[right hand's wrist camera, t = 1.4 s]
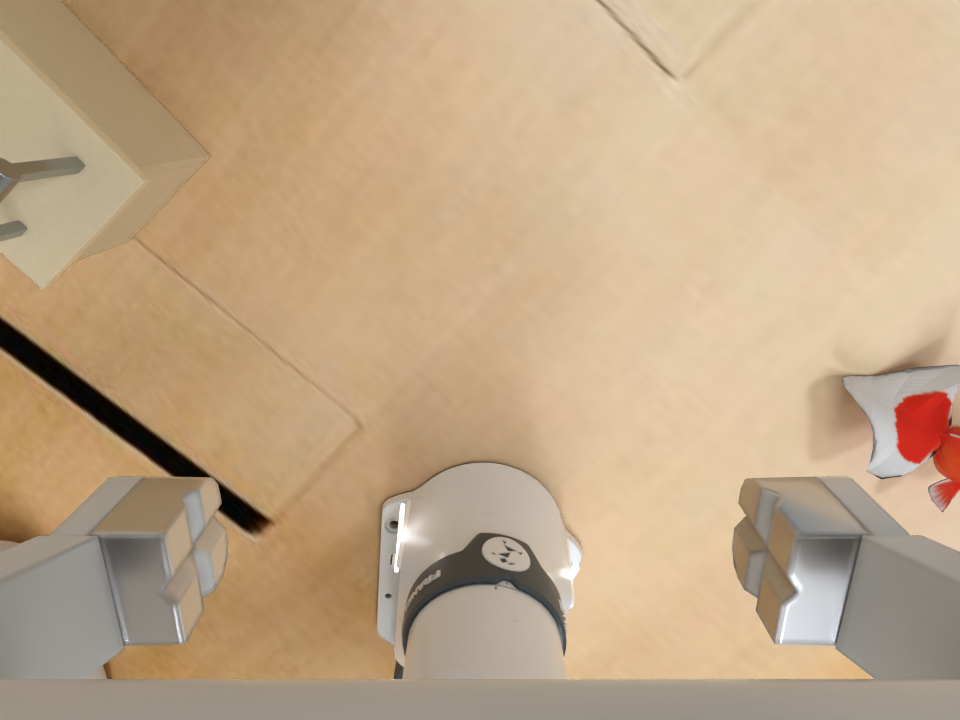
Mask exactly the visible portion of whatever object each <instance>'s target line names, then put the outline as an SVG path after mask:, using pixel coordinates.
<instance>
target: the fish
mask: <svg viewBox="0 0 960 720" xmlns="http://www.w3.org/2000/svg"><path fill="white" fill-rule="evenodd" d="M842 380H843V386H844V387H845V389H846V390H847V391H848V392H849V394H850V395H851V396H852V397H853V398H854V399H855V401H856V402H857V403H858V405H859V406H860V407H861V409H862V410H863V411H864V413H865V414H866V415H867V417H868V418H869V419H870V422H871V426H872V430H873V452H872V456H871V460H870V464H869V466H868V468H867V472H869V473H871V474H872V475H874V476H876V477H878V478H880V479H886V478H892V477H899V476H903V475H905V474H907V473H909V472H911V471H913V470H914V469H916V468H917V467H918V466H920V465H921V464H923V463H924V462H925V461H927V460H928V459H929V458H930V457H932V456H933V460H934V464H935V467H936V468H937V470H938V471H939V472H940V473H941V474H942V475H943V476H945V477H946V478H947V479H944V480H941V481H939V482H937V483H935V484H933V485H931V486H929V488H928V491H929V494H930V497H931V499H932V501H933V502H934V503H935V504H936V506H937V507H938V508H939V509H940V510H941V511H942V512H943V511H944V510H945V509H946V508H947V506H948V505H949V504H950V502H951V500H952V499H953V498H954V497H955V495H956V494H957V492H958V491H959V490H960V427H955V428H951V429H949V427H950V426H951V422H952V404H953V401H954V399H955V396H956V393H957V389H958V386H959V385H960V365H945V366H931V367H918V368H913V369H907V370H902V371H897V372H892V373H886V374H881V375H875V376H863V375H859V376H845V377H842Z"/></svg>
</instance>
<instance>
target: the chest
mask: <svg viewBox="0 0 960 720" xmlns="http://www.w3.org/2000/svg"><path fill="white" fill-rule="evenodd" d="M0 31H1V32H2V33H3V34H4V35H6V36H7V37H8V38H9V39H10V40H11V41H12V42H13V43H14V44H15V45H16V46H17V47H18V48H19V49H20V50H21V51H22V52H23V53H24V54H25V55H26V56H27V57H28V58H29V59H30V60H31V61H32V62H33V63H34V64H35V65H36V66H37V67H38V68H39V69H40V70H41V71H42V72H43V73H44V74H45V75H46V76H47V77H48V78H49V79H50V80H51V81H52V82H53V83H54V84H55V85H56V86H57V87H58V88H59V89H60V90H61V91H62V92H63V93H64V94H65V95H66V96H67V97H68V98H69V99H70V100H71V101H72V102H73V103H74V104H75V105H76V106H77V107H78V108H79V109H80V110H81V111H82V112H83V113H84V114H85V115H86V116H87V117H88V118H89V119H90V120H91V121H92V122H93V123H94V124H95V125H96V126H97V127H98V128H99V129H100V130H101V131H102V132H103V133H104V134H105V135H106V136H107V137H108V138H109V139H110V140H111V141H112V142H113V143H114V144H115V145H116V146H117V147H118V148H119V149H120V150H121V151H123V152H124V153H125V154H126V155H127V156H128V157H129V158H130V159H131V160H132V161H133V162H134V163H135V164H136V165H137V166H138V167H139V168H140V169H141V170H142V171H143V172H144V173H145V174H146V175H147V176H148V177H149V178H150V179H151V181H150V182H149V183H148V184H147V185H146V186H145V187H144V188H143V189H142V191H141V192H140V193H139V194H138V195H137V196H136V197H135V198H134V199H133V200H132V201H131V202H130V203H129V204H128V205H127V206H126V207H125V208H124V209H123V210H122V212H121V213H120V214H119V215H118V216H117V217H116V218H115V219H114V220H113V221H112V222H111V223H110V224H109V225H108V226H107V227H106V228H105V229H104V230H103V232H102V233H101V234H100V235H99V236H98V237H97V238H96V239H95V240H94V241H93V242H92V243H91V244H90V245H89V246H88V247H87V248H86V249H85V250H84V252H83V253H82V254H81V255H80V256H79V257H78V258H77V259H76V260H75V261H77V260H80V259H83V258H85V257H88V256H91V255H93V254H96V253H99V252H101V251H104V250H107V249H110V248H112V247H115V246H118V245H120V244H124V243H126V242H128V241H129V240H130V239H131V238H132V237H133V236H134V235H135V234H136V233H137V232H138V231H139V230H140V229H141V228H142V227H143V226H144V225H145V224H146V223H147V222H148V221H149V220H150V219H151V218H152V217H153V216H154V215H155V214H156V212H157V211H158V210H159V209H160V208H161V207H162V206H163V205H164V204H165V203H166V202H167V201H168V200H169V199H170V198H171V197H172V196H173V195H174V194H175V193H176V192H177V191H178V190H179V189H180V188H181V187H182V186H183V185H184V184H185V183H186V182H187V181H188V179H189V178H190V177H191V176H192V175H193V174H194V173H195V172H196V171H197V170H198V169H199V168H200V167H201V166H202V165H203V164H204V163H205V162H206V161H207V160H208V159H209V158H210V157H211V155H210V154H209V153H208V152H207V151H206V150H205V149H204V148H203V147H202V146H201V145H200V144H199V143H198V142H197V141H196V140H195V139H194V138H193V137H192V136H191V135H190V134H189V133H188V132H187V131H186V130H185V129H184V128H183V126H182V125H181V124H180V123H179V122H178V121H177V120H176V119H175V118H174V117H173V116H172V115H171V114H170V113H169V112H168V111H167V110H166V109H165V108H164V107H163V106H162V105H161V104H160V103H159V102H158V101H157V100H156V99H155V98H154V96H153V95H152V94H151V93H150V92H149V91H148V90H147V89H146V88H145V87H144V86H143V85H142V84H141V83H140V82H139V81H138V80H137V79H136V78H135V77H134V76H133V75H132V74H131V73H130V72H129V71H128V70H127V69H126V67H125V66H124V65H123V64H122V63H121V62H120V61H119V60H118V59H117V58H116V57H115V56H114V55H113V54H112V53H111V52H110V51H109V50H108V49H107V48H106V47H105V46H104V45H103V44H102V43H101V42H100V41H99V40H98V38H97V37H96V36H95V35H94V34H93V33H92V32H91V31H90V30H89V29H88V28H87V27H86V26H85V25H84V24H83V23H82V22H81V21H80V20H79V19H78V18H77V17H76V16H75V15H74V14H73V13H72V12H71V11H70V10H69V8H68V7H67V6H66V5H65V4H64V3H63V2H62V1H61V0H0Z"/></svg>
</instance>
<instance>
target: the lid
mask: <svg viewBox="0 0 960 720" xmlns="http://www.w3.org/2000/svg"><path fill="white" fill-rule="evenodd" d="M150 181H151V179H150V178H149V177H148V176H147V175H146V174H145V173H144V172H143V171H142V170H141V169H140V168H139V167H138V166H137V165H136V164H135V163H134V162H133V161H132V160H131V159H130V158H129V157H128V156H127V155H126V154H125V153H124V152H123V151H121V150H120V149H119V148H118V147H117V146H116V145H115V144H114V143H113V142H112V141H111V140H110V139H109V138H108V137H107V136H106V135H105V134H104V133H103V132H102V131H101V130H100V129H99V128H98V127H97V126H96V125H95V124H94V123H93V122H92V121H91V120H90V119H89V118H88V117H87V116H86V115H85V114H84V113H83V112H82V111H81V110H80V109H79V108H78V107H77V106H76V105H75V104H74V103H73V102H72V101H71V100H70V99H69V98H68V97H67V96H66V95H65V94H64V93H63V92H62V91H61V90H60V89H59V88H58V87H57V86H56V85H55V84H54V83H53V82H52V81H51V80H50V79H49V78H48V77H47V76H46V75H45V74H44V73H43V72H42V71H41V70H40V69H39V68H38V67H37V66H36V65H35V64H34V63H33V62H32V61H31V60H30V59H29V58H28V57H27V56H26V55H25V54H24V53H23V52H22V51H21V50H20V49H19V48H18V47H17V46H16V45H15V44H14V43H13V42H12V41H11V40H10V39H9V38H8V37H7V36H6V35H4V34H3V33H2V32H1V31H0V253H2V254H3V255H4V256H5V257H6V258H7V259H8V260H10V261H11V262H12V263H13V264H14V265H15V266H16V267H17V268H19V269H20V270H21V271H22V272H23V273H24V274H25V275H26V276H28V277H29V278H30V279H31V280H32V281H33V282H34V283H35V284H37V285H38V286H39V287H40V288H41V289H44V288H46V287H49V286H51V285H52V284H53V283H54V282H55V281H56V280H57V279H58V278H59V277H60V276H61V275H62V274H63V273H64V271H65V270H66V269H67V268H68V267H69V266H70V265H71V264H72V263H73V262H74V261H75V260H76V259H77V258H78V257H79V256H80V255H81V254H82V253H83V252H84V250H85V249H86V248H87V247H88V246H89V245H90V244H91V243H92V242H93V241H94V240H95V239H96V238H97V237H98V236H99V235H100V234H101V233H102V232H103V230H104V229H105V228H106V227H107V226H108V225H109V224H110V223H111V222H112V221H113V220H114V219H115V218H116V217H117V216H118V215H119V214H120V213H121V212H122V210H123V209H124V208H125V207H126V206H127V205H128V204H129V203H130V202H131V201H132V200H133V199H134V198H135V197H136V196H137V195H138V194H139V193H140V192H141V191H142V189H143V188H144V187H145V186H146V185H147V184H148V183H149V182H150Z"/></svg>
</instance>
